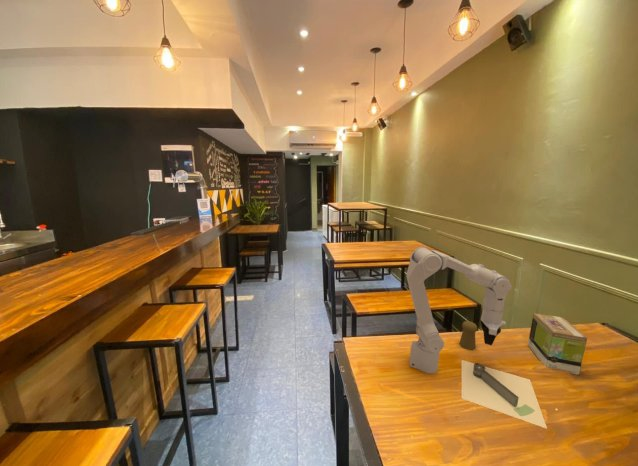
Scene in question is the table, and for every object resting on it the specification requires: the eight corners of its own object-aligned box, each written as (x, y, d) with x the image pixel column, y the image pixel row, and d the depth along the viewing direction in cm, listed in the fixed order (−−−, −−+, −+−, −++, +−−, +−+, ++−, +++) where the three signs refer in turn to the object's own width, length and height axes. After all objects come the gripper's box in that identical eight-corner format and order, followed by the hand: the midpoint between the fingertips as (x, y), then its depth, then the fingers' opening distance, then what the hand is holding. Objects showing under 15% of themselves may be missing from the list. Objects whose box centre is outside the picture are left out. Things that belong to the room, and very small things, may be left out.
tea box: (580, 376, 88) (589, 337, 85) (545, 369, 91) (552, 331, 88) (556, 350, 102) (563, 316, 99) (526, 345, 105) (532, 312, 102)
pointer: (470, 372, 88) (471, 363, 87) (478, 370, 89) (479, 362, 88) (511, 407, 74) (512, 397, 73) (519, 404, 75) (521, 395, 74)
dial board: (461, 401, 77) (461, 398, 77) (461, 362, 94) (461, 359, 94) (546, 431, 68) (547, 428, 68) (529, 382, 85) (529, 379, 85)
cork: (478, 353, 99) (481, 328, 97) (461, 351, 101) (464, 326, 99) (472, 344, 105) (475, 320, 103) (456, 342, 106) (459, 318, 104)
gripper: (510, 320, 78) (504, 359, 81) (504, 302, 91) (499, 336, 93) (483, 314, 82) (478, 352, 84) (481, 297, 94) (477, 331, 96)
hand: (488, 343), depth 89 cm, fingers closed
